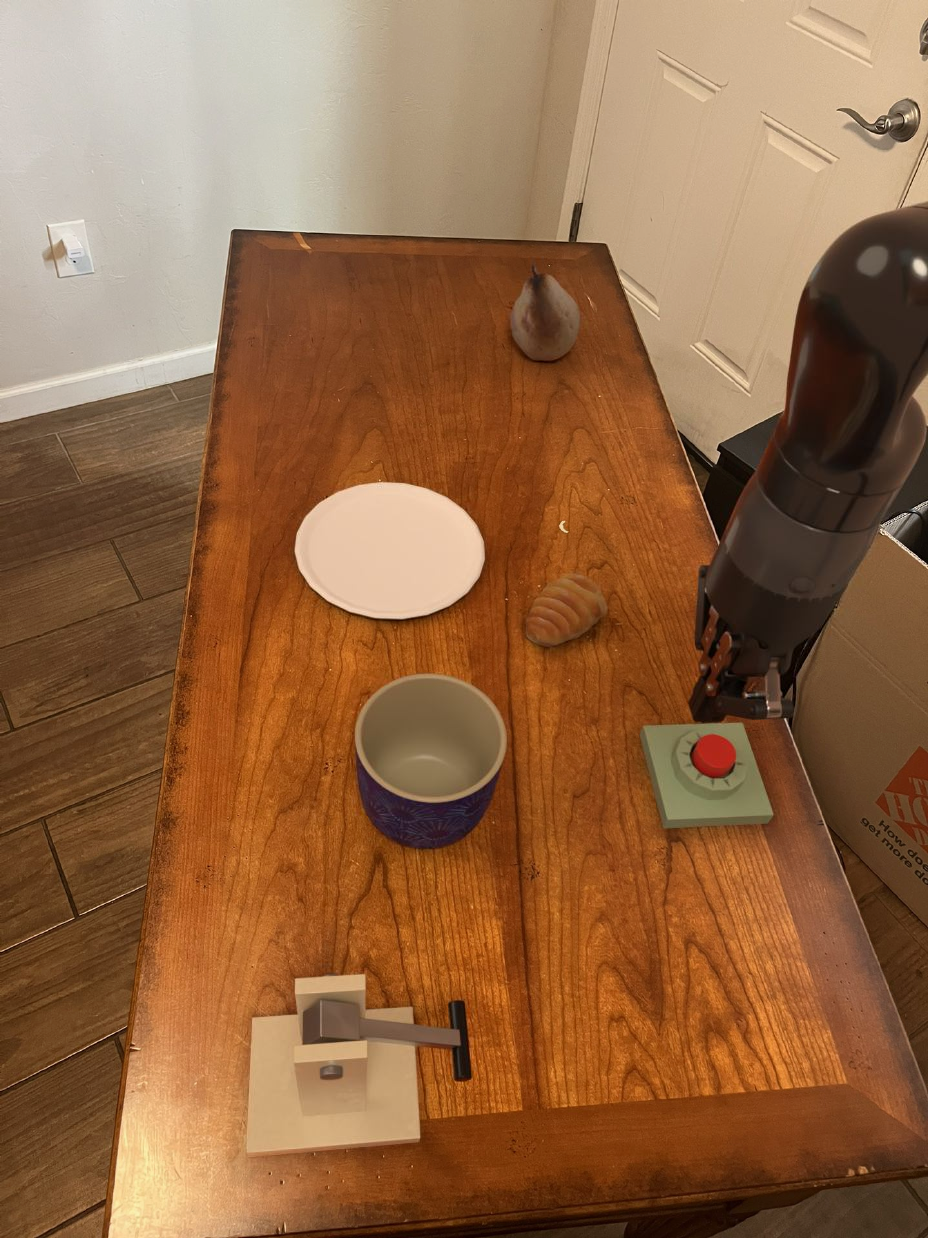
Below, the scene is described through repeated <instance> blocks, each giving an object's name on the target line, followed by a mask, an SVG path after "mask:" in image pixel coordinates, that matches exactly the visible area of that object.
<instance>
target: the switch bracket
mask: <svg viewBox="0 0 928 1238" xmlns="http://www.w3.org/2000/svg"><path fill="white" fill-rule="evenodd" d="M366 980H367V979H366V974H365V973H359V974H343V975H342V974H341V975H339V974H336V973H335V974H334V973H330V974H325V975H322V976H313V977H312V976H310V977H297V978H295V979H294V997H295V1006H296V1013H297V1014H296V1013H295V1014H284V1015H283V1014H281V1015H268V1016H253V1017H252V1019H251V1034H250V1035H251V1036H250V1059H249V1063H250V1064H249V1078H248V1079H249V1080H248V1099H247V1122H246V1123H247V1124H246V1125H247V1126H246V1145H245V1154H246V1156H247V1157H248V1158H253V1157H254V1158H255V1157H256V1158H257V1157H266V1156H277V1155H278V1156H279V1155H287V1154H288V1155H291V1154H299V1153H300V1154H301V1153H313V1152H322V1151H324V1152H325V1151H334V1150H335V1151H336V1150H346V1149H357V1148H369V1147H379V1146H380V1147H381V1146H390V1145H402V1144H404V1145H405V1144H413V1143H420V1141H421V1123H420V1104H419V1089H418V1087H419V1086H418V1072H417V1071H418V1070H417V1069H418V1068H417V1054H416V1053H417V1051H416V1046H409V1045H399V1044H389V1043H380V1042H370V1041H367V1040H363V1041H361V1040H360V1041H350V1042H336V1043H322V1044H308V1045H302V1035H303V1011H305V1010H306V1009H308V1008H310V1007H311V1006H313V1005H314V1004H316V1003H317V1002H319V1001H320V1000H325V1001H333V1002H341V1003H349V1004H357V1005H359V1014H360V1018H366V1019H374V1020H383V1021H391V1022H399V1023H408V1024H415V1019H414V1007H413V1006H399V1007H384V1008H370V1009H366V1001H367V999H366V996H367V995H366V994H367V993H366V992H367V983H366V982H367V981H366Z"/></svg>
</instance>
